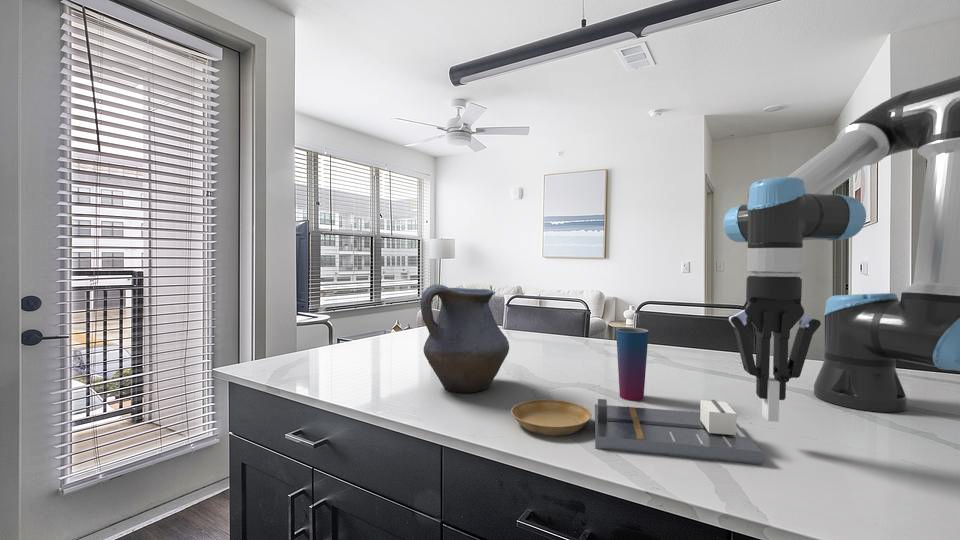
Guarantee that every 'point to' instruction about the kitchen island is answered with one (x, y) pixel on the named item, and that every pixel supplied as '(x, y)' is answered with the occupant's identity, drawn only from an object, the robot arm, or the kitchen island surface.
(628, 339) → the cup
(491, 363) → the pitcher
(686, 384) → the kitchen island surface
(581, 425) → the plant saucer
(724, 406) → the fader
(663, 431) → the console
